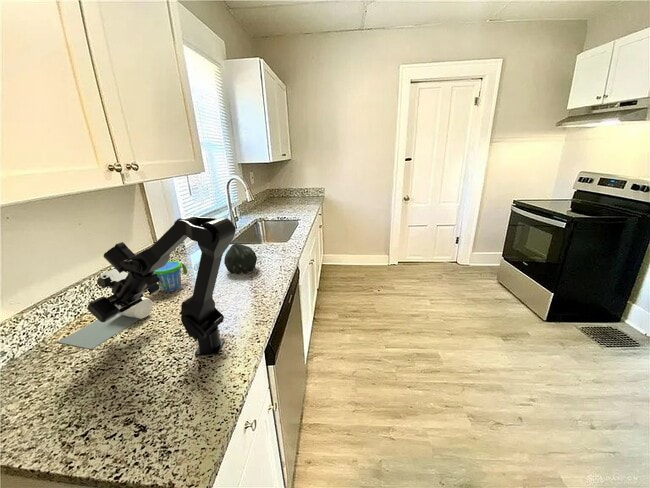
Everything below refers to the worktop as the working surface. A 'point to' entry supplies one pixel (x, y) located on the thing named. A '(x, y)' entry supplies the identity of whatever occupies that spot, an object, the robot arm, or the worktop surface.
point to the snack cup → (170, 275)
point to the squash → (240, 259)
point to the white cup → (139, 309)
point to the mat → (98, 332)
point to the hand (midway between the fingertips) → (117, 311)
